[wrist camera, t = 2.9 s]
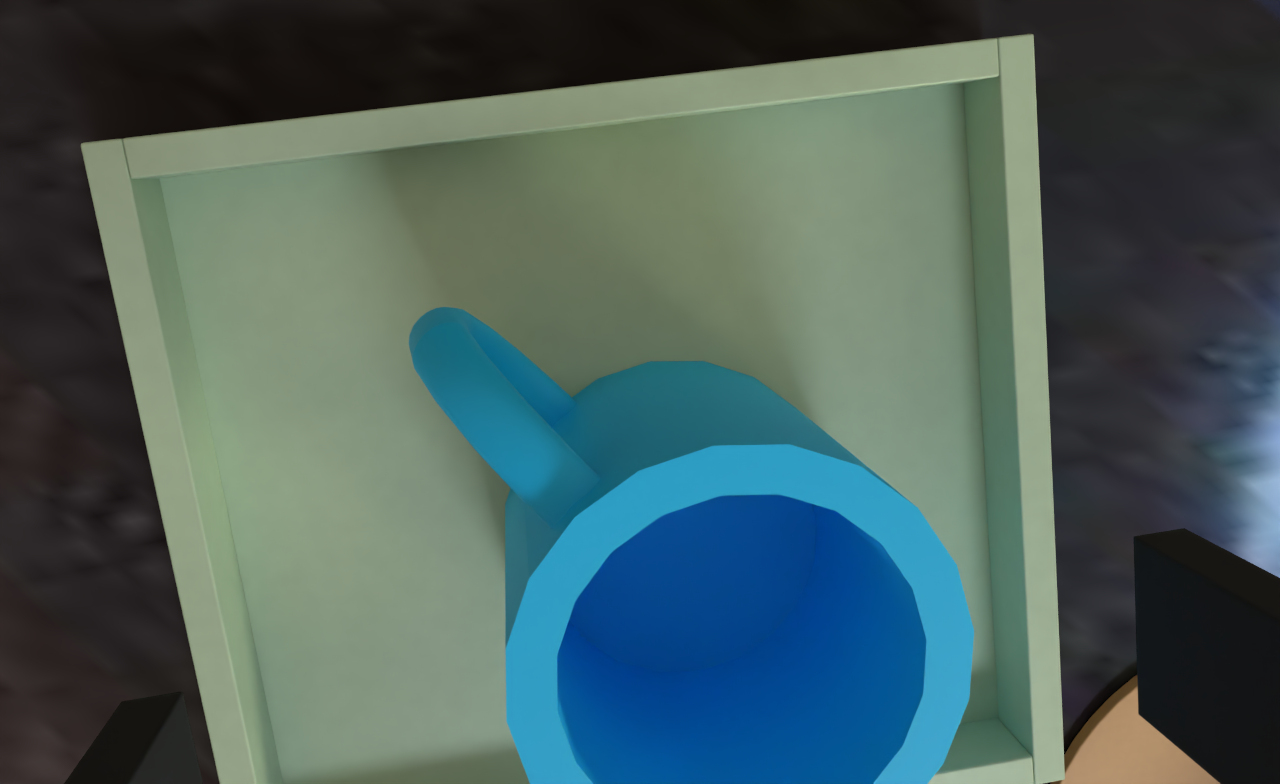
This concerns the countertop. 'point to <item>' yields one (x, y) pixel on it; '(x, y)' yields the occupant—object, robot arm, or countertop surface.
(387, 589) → the tray
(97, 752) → the robot arm
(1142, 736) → the coaster
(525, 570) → the mug
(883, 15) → the countertop surface
